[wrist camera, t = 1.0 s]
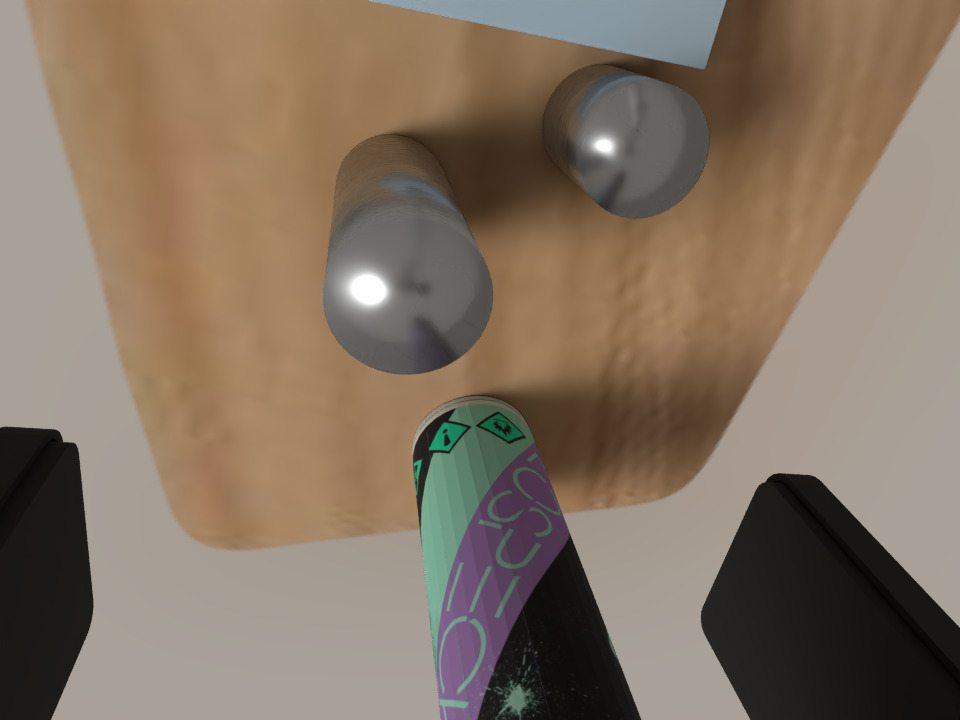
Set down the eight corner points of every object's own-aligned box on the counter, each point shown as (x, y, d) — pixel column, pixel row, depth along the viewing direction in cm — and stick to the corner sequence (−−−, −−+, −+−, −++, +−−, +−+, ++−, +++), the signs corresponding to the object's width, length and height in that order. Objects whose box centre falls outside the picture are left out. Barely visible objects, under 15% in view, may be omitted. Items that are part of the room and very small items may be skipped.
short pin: (556, 54, 23) (601, 69, 19) (662, 75, 24) (728, 95, 20) (531, 170, 25) (566, 208, 21) (631, 186, 26) (684, 226, 22)
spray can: (553, 421, 31) (802, 982, 13) (491, 508, 33) (640, 1096, 15) (449, 376, 29) (583, 965, 11) (390, 471, 31) (428, 1099, 13)
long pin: (341, 125, 23) (330, 206, 15) (454, 143, 24) (507, 230, 16) (331, 236, 25) (316, 366, 16) (437, 250, 26) (476, 380, 17)
